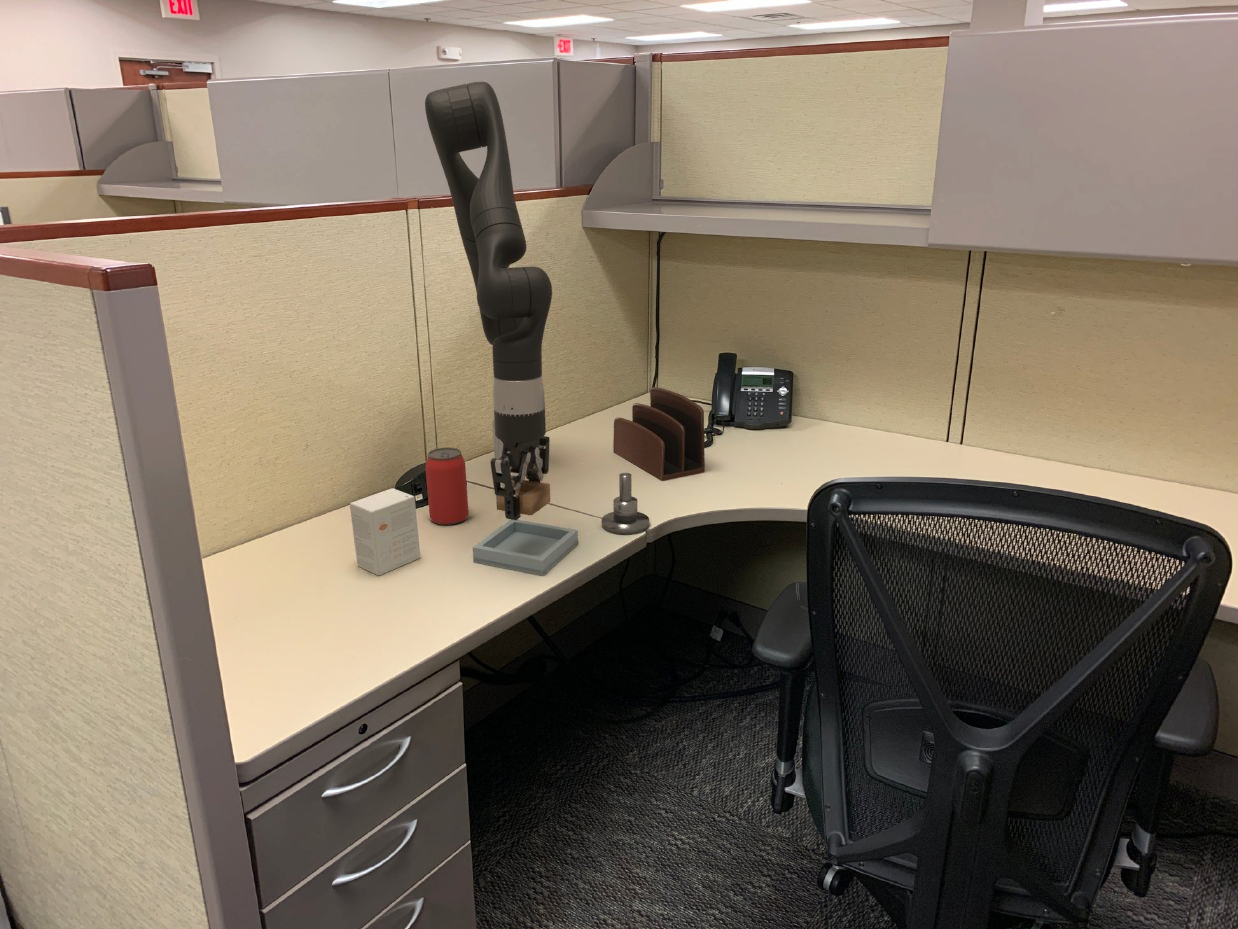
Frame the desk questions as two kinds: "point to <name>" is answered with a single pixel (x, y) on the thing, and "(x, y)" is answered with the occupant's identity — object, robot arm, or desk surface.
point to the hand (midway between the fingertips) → (523, 510)
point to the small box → (385, 531)
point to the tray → (526, 546)
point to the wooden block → (529, 497)
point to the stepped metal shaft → (625, 512)
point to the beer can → (446, 486)
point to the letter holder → (663, 436)
